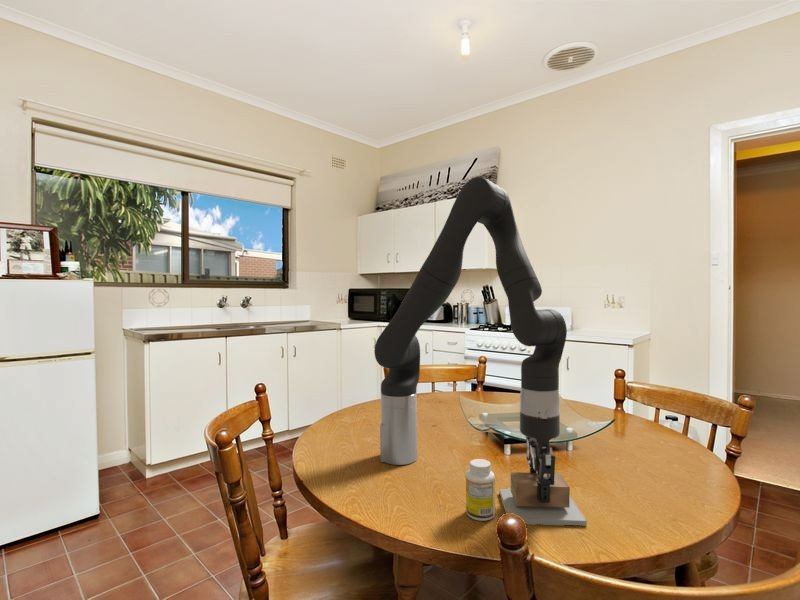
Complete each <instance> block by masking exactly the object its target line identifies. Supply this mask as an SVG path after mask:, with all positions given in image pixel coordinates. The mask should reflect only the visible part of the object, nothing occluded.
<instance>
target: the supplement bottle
mask: <svg viewBox="0 0 800 600" xmlns="http://www.w3.org/2000/svg"><path fill="white" fill-rule="evenodd" d="M465 498H466V499H465V501H466V502H465V505H466V514H467V515H468V517H470V518H471V519H473V520H475V521H479V522H480V521H481V522H483V521H484V522H487V521H490V520H492V519H493V518H494V517H495V515H496V476H495V473H494V472H493V471H492V467H491V462H490V461H489V460H487V459H483V458H476V459H472V460H470V462H469V469H468V470H467V471H466V474H465Z"/></svg>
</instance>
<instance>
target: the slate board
mask: <svg viewBox="0 0 800 600" xmlns="http://www.w3.org/2000/svg"><path fill="white" fill-rule="evenodd" d="M499 495H500V499H501V502H502V505H503V508H504V512H505V511H506V512H505V514H506V513H514V514H516V515H518V516H520V517H521V518H522V519H523V520H524V522H525V523H526V524H525V525H533V524H541V525H540V526H542V524H543V525H544V526H564V525H580V526H579V527H588V526H587V525H588V521H587V519H586V518H585V516H584V514H583V513H582V511H581V510H580V508H579V507H578V505H577V504H576V503H575V502H576V501H574V499H573V498H572V496H571V495H570V502H569V508H565V507H533V506H516V504H515V501H514V498H513V496H512V493H511V488H500V489H499ZM581 525H582V526H581Z"/></svg>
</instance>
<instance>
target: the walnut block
mask: <svg viewBox="0 0 800 600" xmlns="http://www.w3.org/2000/svg"><path fill="white" fill-rule="evenodd" d="M544 477H547V474H544ZM570 488H571V487H570V486H569V484H568V483H567V481H566V480H565V478H564V477H563V475H562V474H561V473H560V472H559V473H555V475H554V485H550V502H549V503H539V502H538V500H537V474H536V473H530V472H524V471H523V472H516V471H511V472H510V489H511V493H512V496H513V498H514V501H515V504H516V506H533V507H565V508H569V502H570V496H571V494H570V490H571V489H570Z"/></svg>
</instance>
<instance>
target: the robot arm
mask: <svg viewBox="0 0 800 600" xmlns="http://www.w3.org/2000/svg"><path fill="white" fill-rule="evenodd" d="M477 223H479V224H482V225H483V226H484V227H485V229H486V230H487V232H488V233H489V235H490V237H491V238H492V241H493V243H494V244H493V245H494V249H495V265H496V272H497V276H498V279H499V280H500V281H499V282H500V283H501V285H502V288H503V290H504V293H505V295H506V298H507V302H508V304H507V305H508V312H509V320H510V326H511V328H510V329H511V330H512V333H513V335H514V337H515V339H516V340H517V341H518V342H519V343H520V344H522V345H523V346H525V347H535V348H534V350H533V353H532V354H531V355H530V356H528V357H526V358H524V359H523V360H522V362H521V367H520V379H521V382H520V394H519V432H520V433H521V435H523V436H525V443H526V445H525V446H526V447H525V448H526V458H525V459H526V461H527V462H528V463H527V465H528V467H529V473H536V474H537V500H538V502H539V503H549V502H550V485H554V475H555V469H556V455H555V454H553V447H552V445H550V441H551V440H553V439H556V438H558V437H559V436H560V433H561V432H560V429H561V427H560V425H561V423H560V422H561V419H560V417H561V415H560V414H561V412H560V404H561V403H560V402H561V401H560V394H559V366H560V363H561V360H562V357H563V353H564V348H565V345H566V340H567V331H568V329H567V323H566V320H565V319H564V316H563V315H562V314H561V313H560V312H559V311H557V310H556V309H552V308H551V309H550V308H548V309H536V306H535V304H534V302H535V301H537V300H538V299H539V298H540V297H541V295H542V294H543V290H542V286H541V283H540V281H539V279H538V277H537V275H536V271H535V270H534V268H533V265H532V264H531V262H530V259H529V257H528V255H527V252H526V250H525V247H524V245H523V242H522V239H521V236H520V233H519V229H518V225H517V223H516V218H515V214H514V210H513V206H512V203H511V199H510V196H509V194H508V192H507V191H506V190H505V189H504V188H503V187H502V186H499V185H498V184H497V183H495V182H493V181H491V180H489V179H487V178H485V177H483V176H474V177H473V178H471V179H469V180H468V181H467V182H465V183H464V185H463V186H462V188H461V189H460V191H459V193H458V194H457V196H456V198H455V200H454V202H453V205H452V208H451V210H450V212H449V214H448V217H447V219H446V221H445V223H444V226H443V227H442V230H441V231H440V233H439V235H438V237H437V239H436V241H435V243H434V244H433V247H432V249H431V250H430V252H429V254H428V255H427V257H426V259H425V260H424V262H423V264H422V266H421V267H420V269H419V271H418V272H417V274H416V276H415V279H414V280H413V282H412V284H411V286H410V288H409V289H408V290H407V293H406V295H405V296H404V297H403V300H402V302H401V303H400V305H399V307H398V309H397V311H396V312H395V313H394V315H393V317H392V318H391V319H390V321H389V322H388V324H387V325H386V326H385V328H383V330H382V332H381V333H380V335H379V336H378V338H377V340H376V341H375V344H374V350H373V351H374V352H373V353H374V358H375V360H376V362H377V364H378V365H380V366H381V367H383V368H385V369H388V372H387V374H386V375H385V377H384V379H383V380H382V381H381V384H380V411H381V414H380V420H381V421H380V425H379V445H380V446H379V448H380V449H379V451H380V453H379V454H380V455H379V456H380V463H385V464H388V465H395V466H403V465H405V466H406V465H409V464H413V463H415V462H416V461H417V460H418V427H417V426H418V425H417V424H418V417H417V416H418V410H417V409H418V408H417V406H418V405H417V402H418V401H417V397H418V395H417V392H418V391H417V389H418V388H417V387H418V383H419V381H420V373H421V372H420V371H421V367H420V366H421V346H420V342H419V339H418V337H417V336H416V335H417V333H418V331H419V330H420V329H421V327H422V325H424V324H425V322H426V321H427V320H429V319H430V318H431V317H432V316H433V315H434V314H435V313H436V312H437V311H438V310H439V309H440V308H441V307H442V306H443V305H444V303H445V302H446V301H447V299H448V298H450V297H449V296H450V295H451V294H452V292H453V290H454V288H455V287H456V285H457V284H458V281H459V279H460V277H461V274H462V268H463V259H464V258H463V257H464V250H465V249H464V248H465V245H466V243H467V240H468V238H469V236H470V235H471V233H472V231H473V230H474V228H475V226H476V224H477ZM544 474H547V477H544Z"/></svg>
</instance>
